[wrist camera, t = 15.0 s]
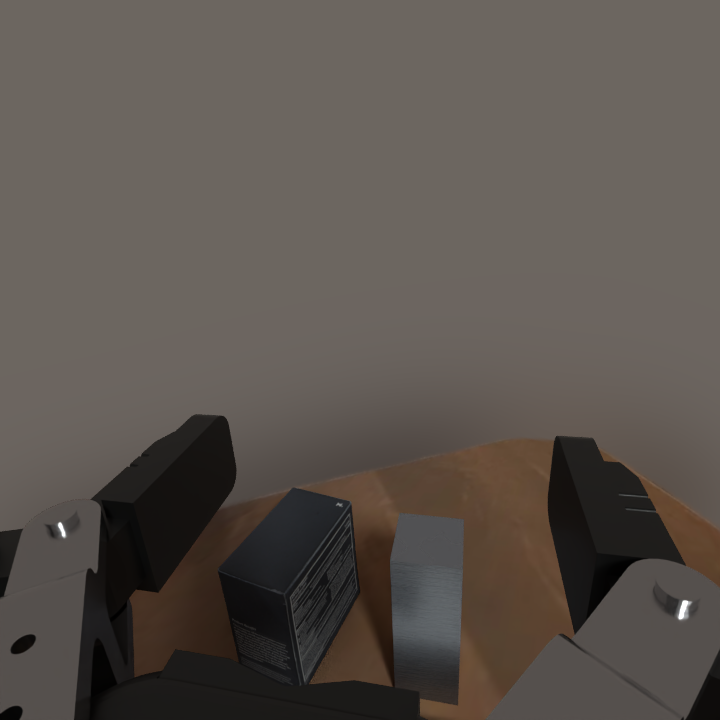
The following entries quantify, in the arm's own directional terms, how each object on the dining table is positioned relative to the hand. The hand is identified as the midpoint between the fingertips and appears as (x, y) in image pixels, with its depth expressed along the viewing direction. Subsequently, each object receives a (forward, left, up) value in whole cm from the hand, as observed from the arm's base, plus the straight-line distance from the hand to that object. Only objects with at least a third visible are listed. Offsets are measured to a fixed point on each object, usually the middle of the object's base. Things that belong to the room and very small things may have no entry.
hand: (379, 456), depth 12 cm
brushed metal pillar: (0, +16, -30) cm, 34 cm away
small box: (-11, +18, -30) cm, 37 cm away
